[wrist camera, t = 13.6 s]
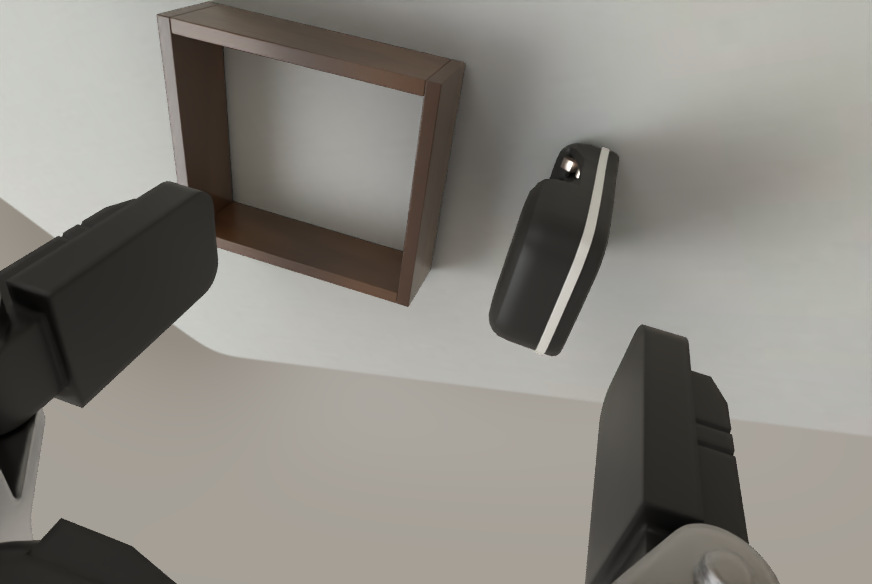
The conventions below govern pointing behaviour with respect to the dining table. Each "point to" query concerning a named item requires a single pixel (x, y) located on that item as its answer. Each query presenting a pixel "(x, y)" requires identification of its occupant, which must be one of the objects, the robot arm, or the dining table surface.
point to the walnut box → (330, 52)
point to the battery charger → (556, 250)
